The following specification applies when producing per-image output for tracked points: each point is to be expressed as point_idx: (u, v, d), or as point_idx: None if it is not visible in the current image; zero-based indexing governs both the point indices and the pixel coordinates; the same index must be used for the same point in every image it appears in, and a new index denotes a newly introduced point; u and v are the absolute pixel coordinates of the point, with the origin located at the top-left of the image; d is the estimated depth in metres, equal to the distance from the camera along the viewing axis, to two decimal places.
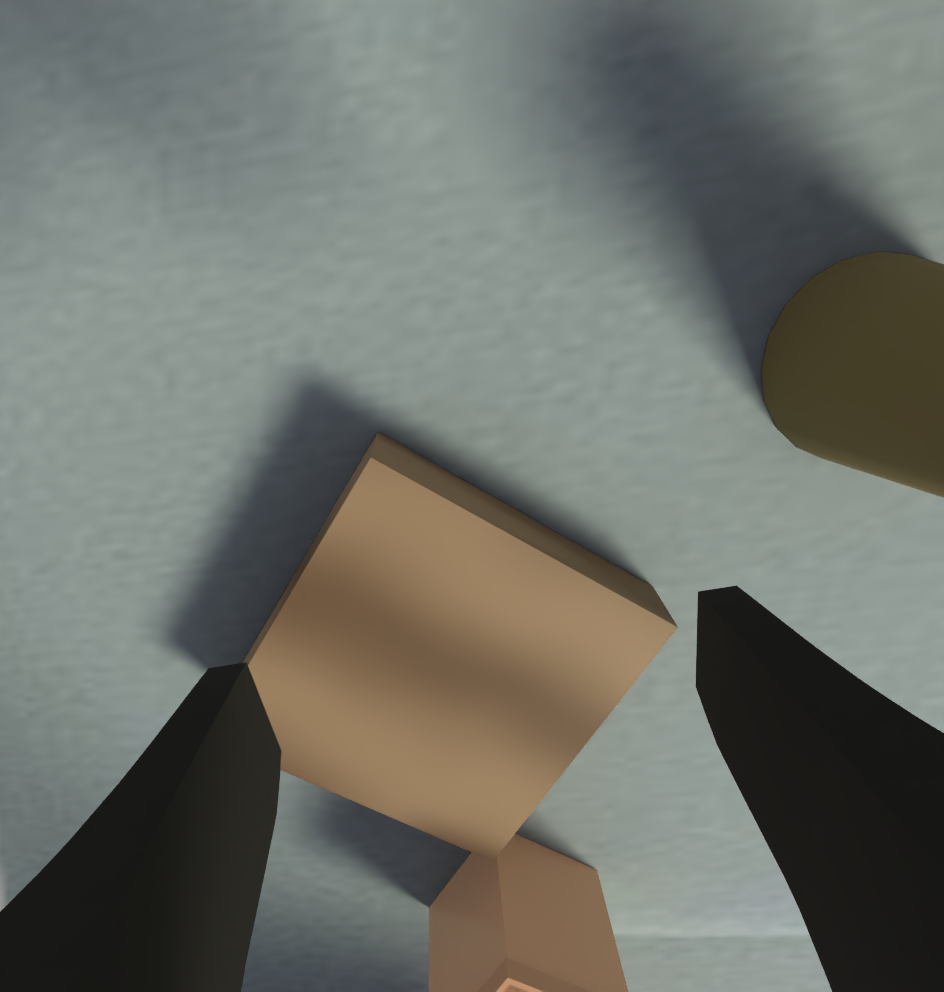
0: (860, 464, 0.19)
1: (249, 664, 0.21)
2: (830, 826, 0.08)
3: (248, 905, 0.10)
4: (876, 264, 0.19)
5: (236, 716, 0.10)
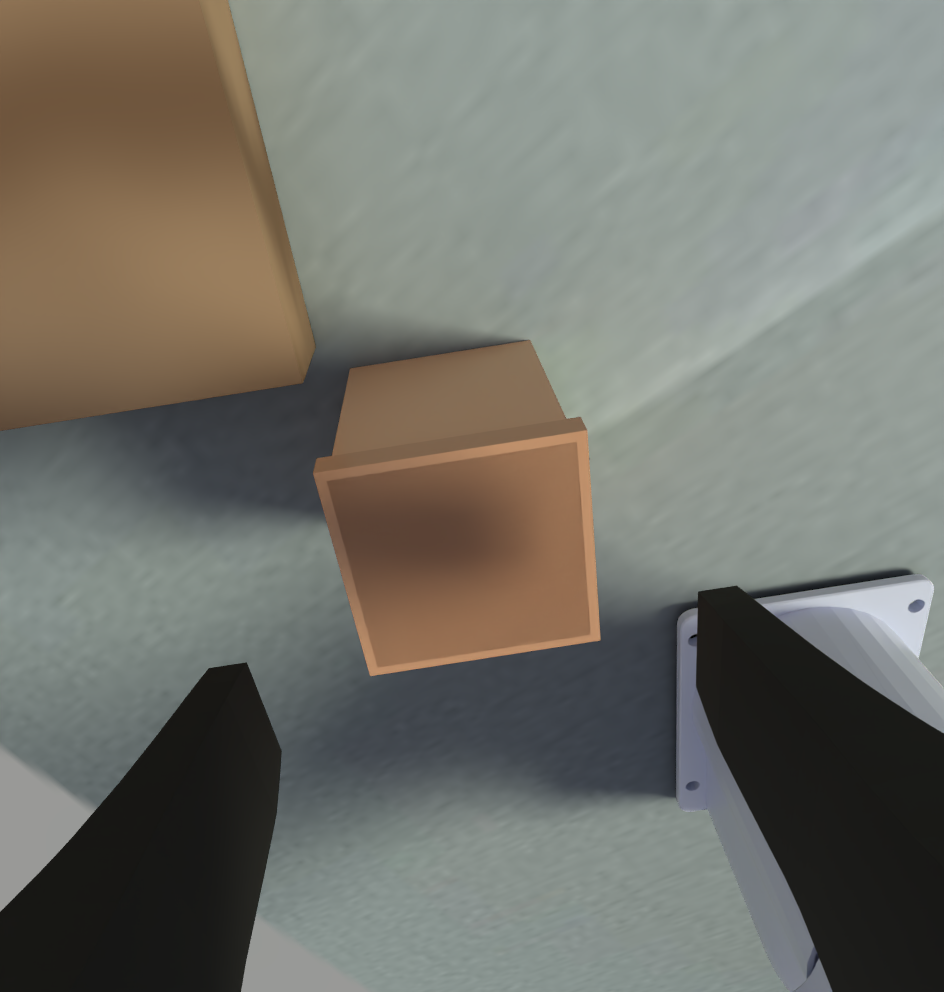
0: None
1: None
2: (830, 826, 0.08)
3: (248, 905, 0.10)
4: None
5: (236, 716, 0.10)
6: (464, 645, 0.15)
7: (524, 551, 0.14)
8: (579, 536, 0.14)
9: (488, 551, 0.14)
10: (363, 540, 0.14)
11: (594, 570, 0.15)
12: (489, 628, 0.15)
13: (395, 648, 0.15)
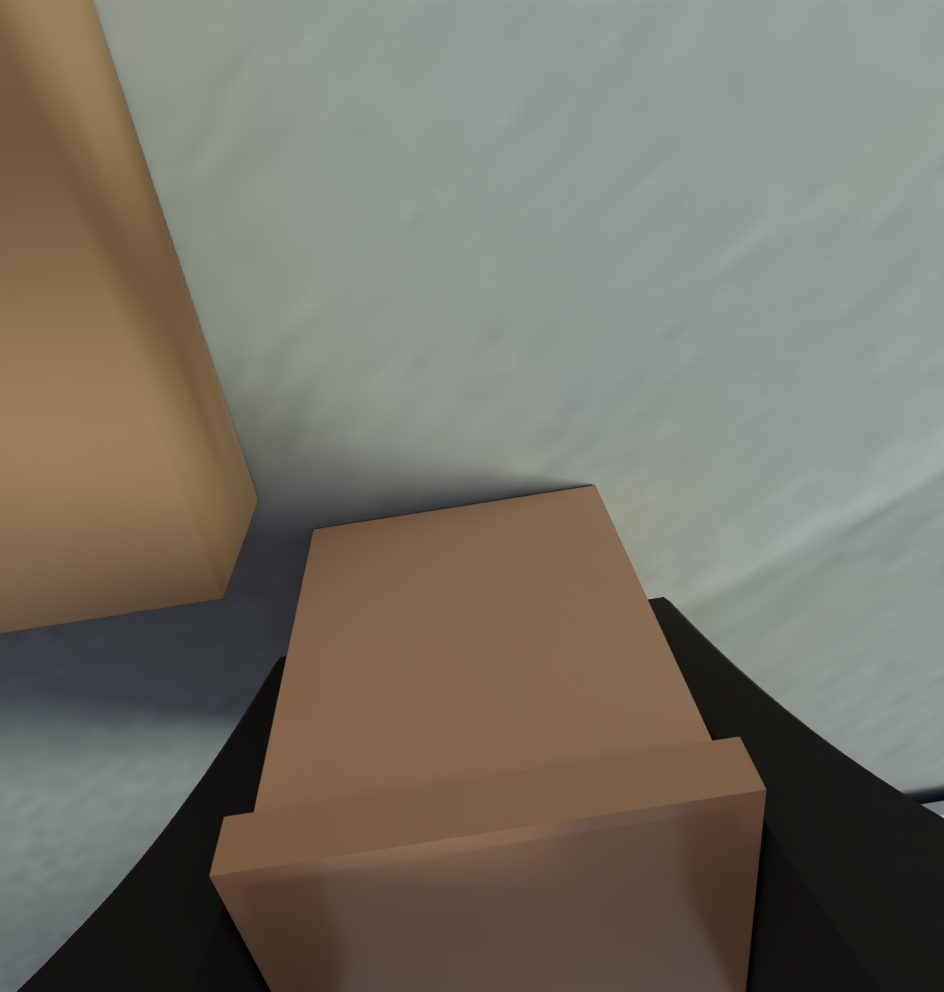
0: None
1: None
2: None
3: None
4: None
5: None
6: None
7: (620, 957, 0.08)
8: (725, 934, 0.08)
9: (554, 962, 0.08)
10: (317, 961, 0.07)
11: (743, 973, 0.08)
12: None
13: None
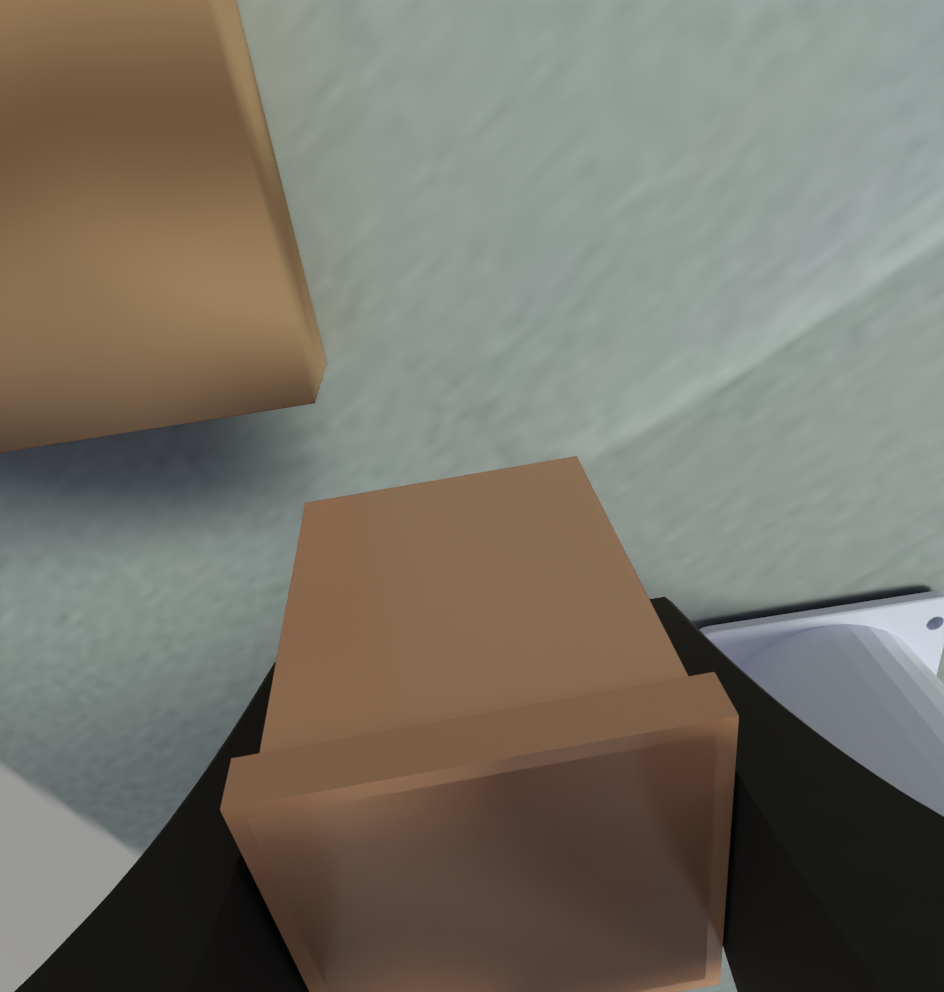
0: None
1: None
2: (732, 841, 0.08)
3: None
4: None
5: None
6: None
7: (606, 888, 0.08)
8: (703, 861, 0.08)
9: (545, 892, 0.08)
10: (321, 895, 0.08)
11: (722, 901, 0.09)
12: (540, 985, 0.09)
13: None
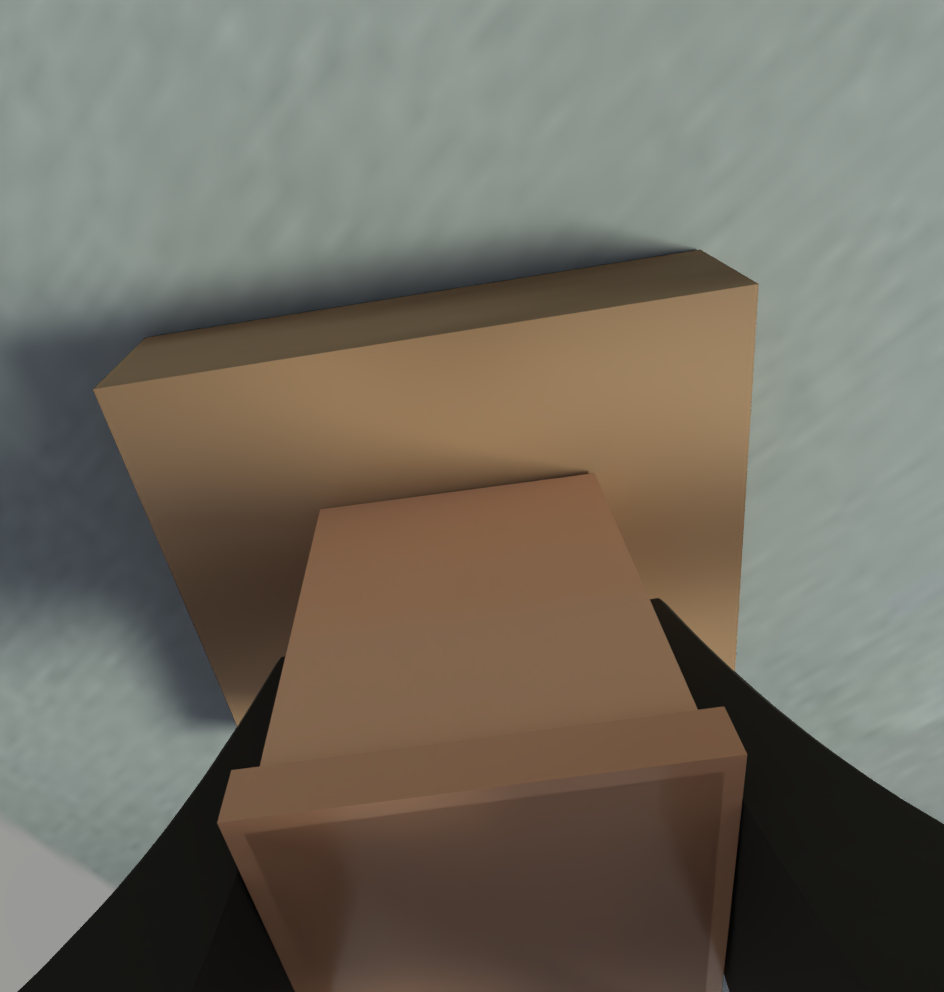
0: None
1: (237, 722, 0.14)
2: None
3: None
4: None
5: None
6: None
7: (605, 919, 0.08)
8: (707, 898, 0.08)
9: (543, 920, 0.08)
10: (316, 911, 0.08)
11: (724, 938, 0.08)
12: None
13: None
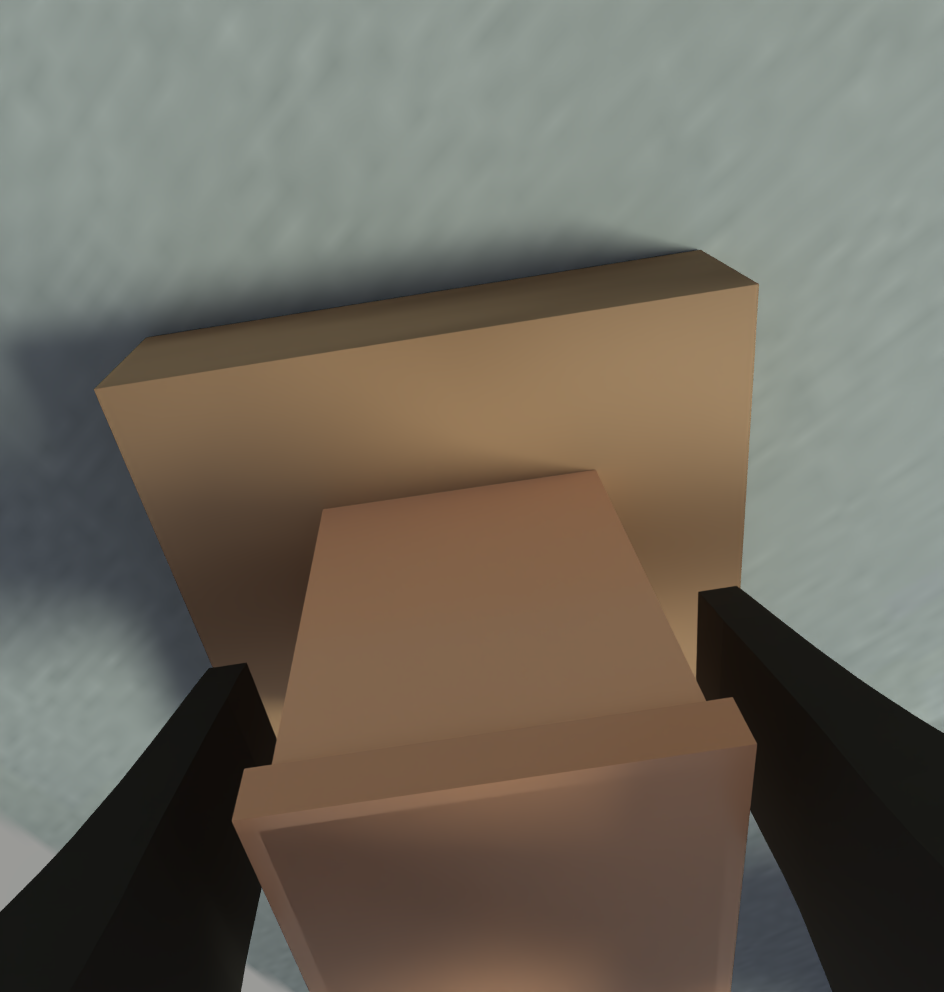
0: None
1: None
2: (830, 826, 0.08)
3: (248, 905, 0.10)
4: None
5: (236, 716, 0.10)
6: None
7: (617, 910, 0.08)
8: (716, 888, 0.08)
9: (554, 913, 0.08)
10: (330, 908, 0.08)
11: (733, 928, 0.08)
12: None
13: None
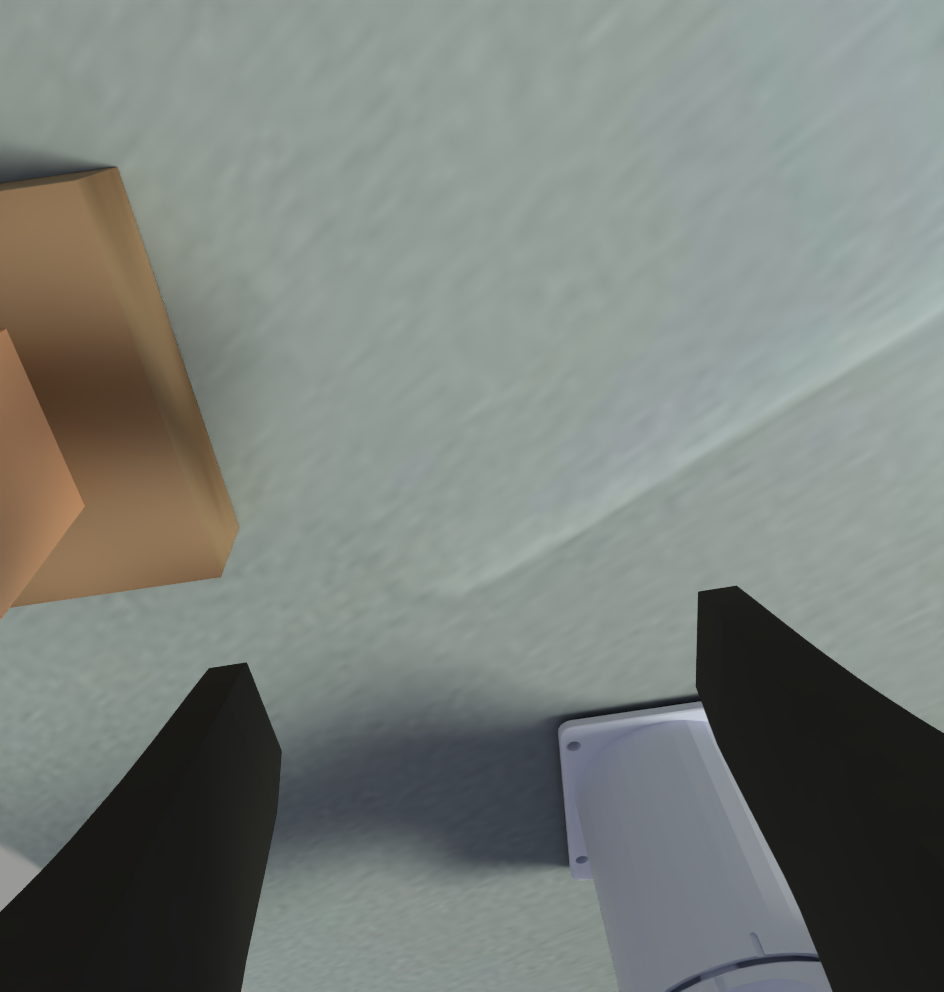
0: None
1: None
2: (830, 826, 0.08)
3: (248, 905, 0.10)
4: None
5: (236, 716, 0.10)
6: None
7: None
8: None
9: None
10: None
11: None
12: None
13: None
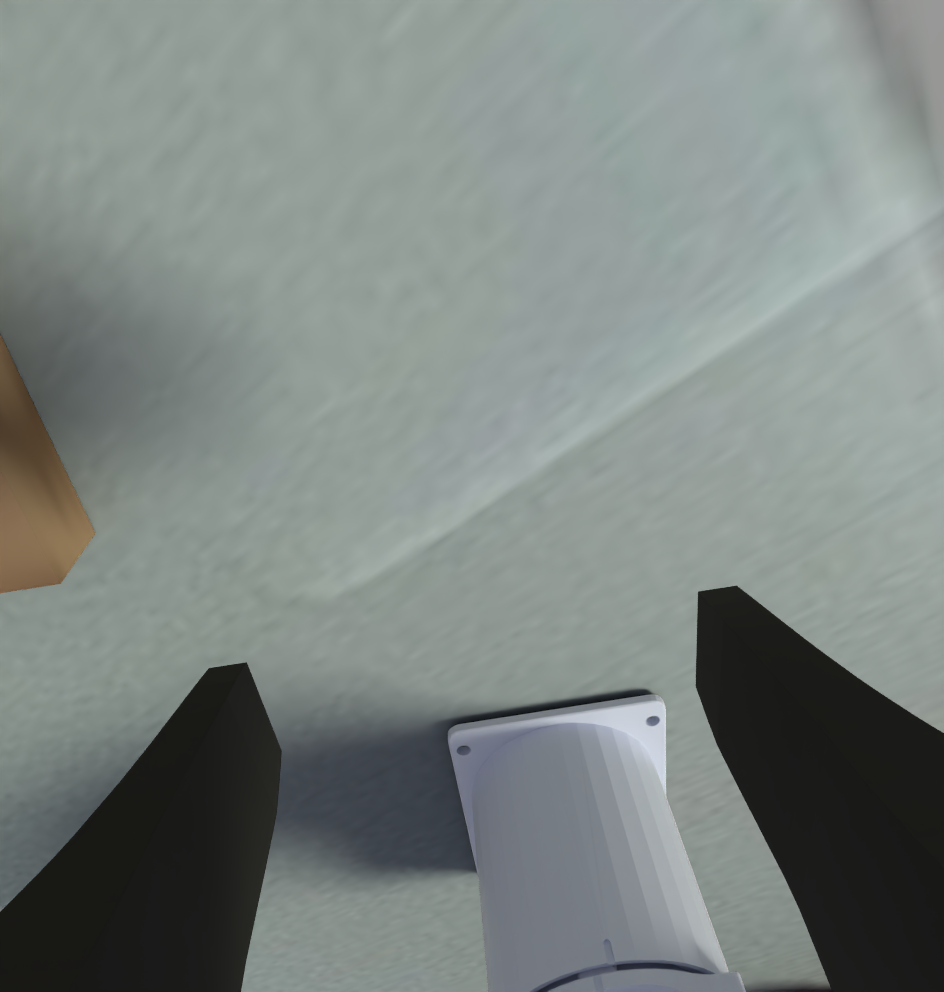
0: None
1: None
2: (830, 826, 0.08)
3: (248, 905, 0.10)
4: None
5: (236, 716, 0.10)
6: None
7: None
8: None
9: None
10: None
11: None
12: None
13: None
